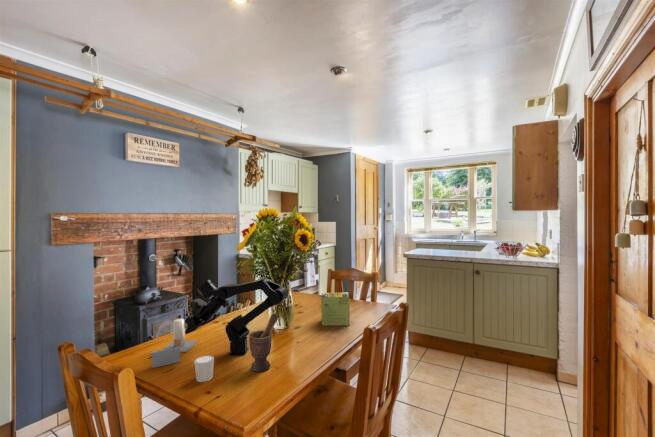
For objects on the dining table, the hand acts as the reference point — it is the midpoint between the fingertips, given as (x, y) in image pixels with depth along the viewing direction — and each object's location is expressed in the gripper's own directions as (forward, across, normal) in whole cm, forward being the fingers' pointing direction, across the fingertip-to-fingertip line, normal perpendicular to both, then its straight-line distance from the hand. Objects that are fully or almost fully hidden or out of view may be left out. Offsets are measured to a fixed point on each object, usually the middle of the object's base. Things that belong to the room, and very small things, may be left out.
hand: (192, 329), depth 142 cm
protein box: (-34, -45, +47) cm, 74 cm away
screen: (+6, +16, +6) cm, 18 cm away
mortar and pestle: (-22, +10, +34) cm, 42 cm away
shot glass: (-9, +23, +22) cm, 33 cm away
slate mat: (+11, 0, +1) cm, 11 cm away
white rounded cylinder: (+11, 0, 0) cm, 11 cm away
